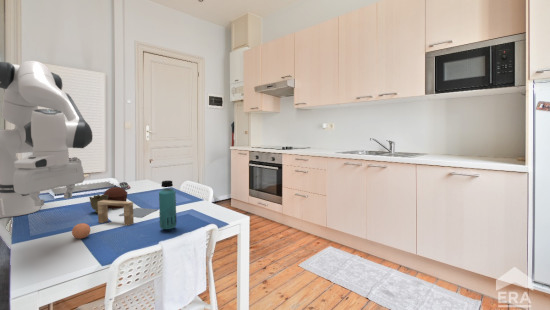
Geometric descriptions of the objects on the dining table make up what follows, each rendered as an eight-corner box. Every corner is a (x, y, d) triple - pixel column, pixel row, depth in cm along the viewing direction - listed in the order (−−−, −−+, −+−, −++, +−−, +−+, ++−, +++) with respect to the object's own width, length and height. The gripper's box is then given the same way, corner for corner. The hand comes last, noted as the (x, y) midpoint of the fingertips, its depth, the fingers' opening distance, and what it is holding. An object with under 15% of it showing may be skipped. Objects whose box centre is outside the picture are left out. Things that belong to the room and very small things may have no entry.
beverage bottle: (166, 234, 101) (165, 183, 99) (155, 230, 105) (154, 181, 103) (180, 229, 107) (179, 180, 105) (169, 225, 110) (168, 178, 108)
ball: (68, 240, 94) (67, 225, 94) (81, 234, 100) (81, 220, 99) (81, 241, 93) (80, 226, 93) (94, 235, 99) (93, 221, 98)
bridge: (128, 225, 110) (127, 203, 109) (98, 222, 112) (97, 201, 112) (133, 222, 113) (132, 201, 112) (104, 220, 115) (103, 199, 115)
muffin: (104, 204, 139) (104, 186, 138) (128, 202, 144) (128, 184, 143) (100, 211, 128) (100, 191, 127) (126, 208, 133) (126, 189, 132)
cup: (99, 215, 122) (98, 198, 121) (86, 214, 123) (85, 197, 122) (112, 210, 129) (111, 194, 128) (99, 209, 130) (99, 193, 130)
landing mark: (118, 215, 122) (118, 215, 122) (136, 208, 134) (136, 207, 134) (141, 217, 120) (141, 217, 120) (157, 209, 132) (157, 209, 132)
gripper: (72, 156, 96) (75, 193, 97) (7, 163, 76) (11, 210, 77) (88, 156, 95) (90, 194, 96) (25, 163, 74) (29, 211, 76)
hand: (54, 201), depth 86 cm, fingers open, 8 cm apart
